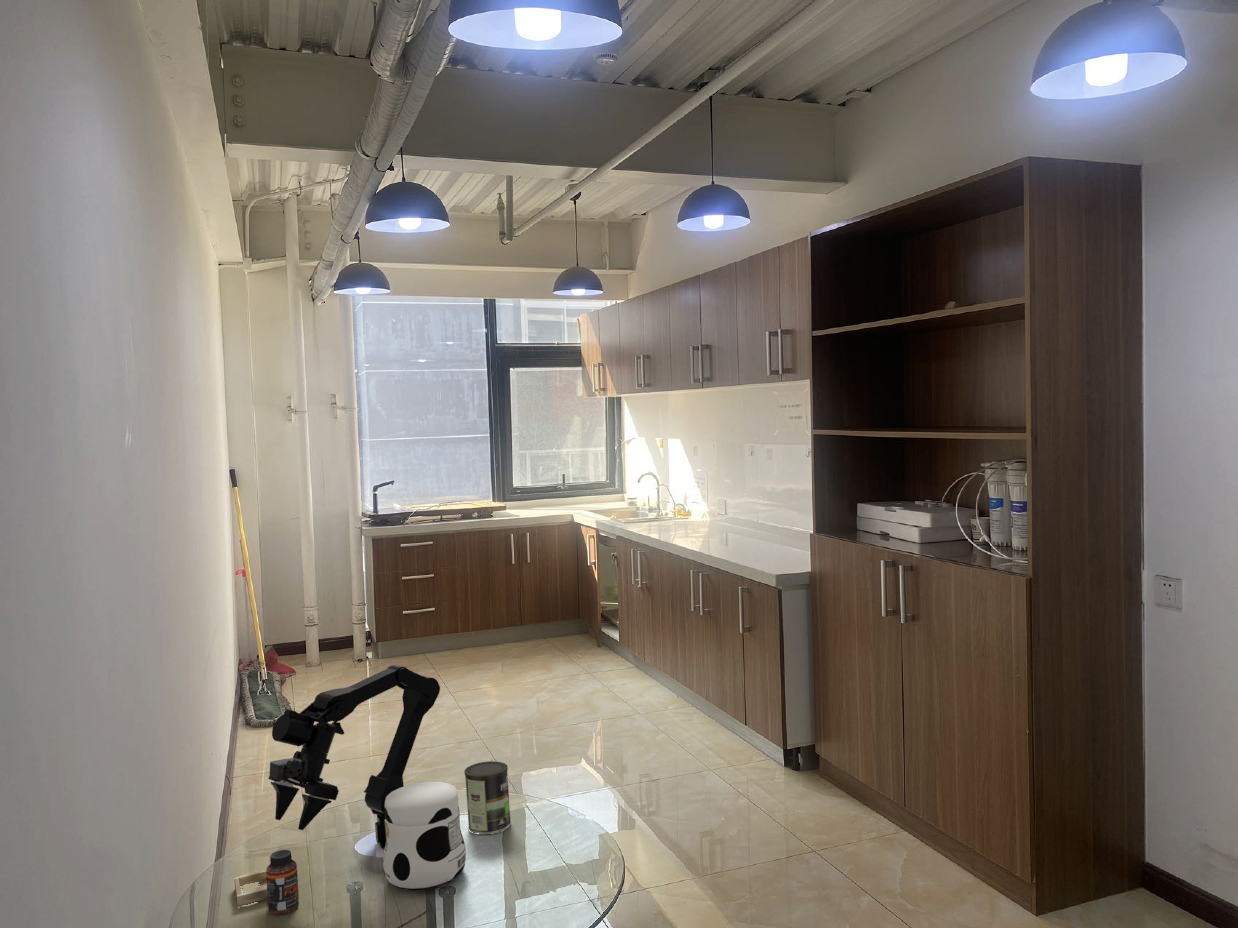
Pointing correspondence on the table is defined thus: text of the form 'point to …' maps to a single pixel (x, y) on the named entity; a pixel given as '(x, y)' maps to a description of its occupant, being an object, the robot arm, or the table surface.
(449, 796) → the milk container
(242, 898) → the tray
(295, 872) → the supplement bottle
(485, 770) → the coffee can
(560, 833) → the table surface
